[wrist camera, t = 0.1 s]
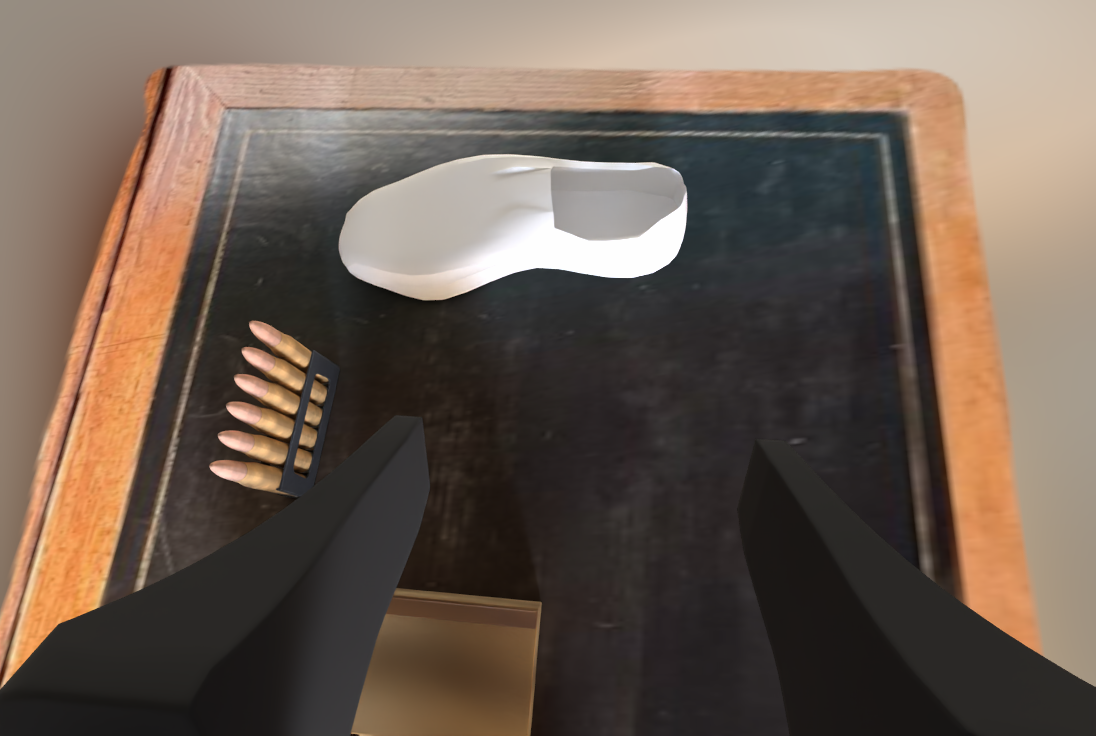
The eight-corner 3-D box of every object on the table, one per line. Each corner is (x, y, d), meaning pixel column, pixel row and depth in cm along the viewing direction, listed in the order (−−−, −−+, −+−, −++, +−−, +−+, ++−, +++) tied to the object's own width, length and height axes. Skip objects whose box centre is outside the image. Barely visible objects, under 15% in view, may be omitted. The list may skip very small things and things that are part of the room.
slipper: (671, 190, 51) (691, 123, 43) (681, 299, 48) (704, 249, 40) (356, 201, 52) (317, 137, 44) (346, 308, 49) (303, 261, 41)
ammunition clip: (318, 364, 48) (240, 306, 36) (340, 366, 48) (268, 309, 36) (287, 497, 45) (190, 480, 33) (310, 500, 45) (221, 483, 33)
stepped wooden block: (520, 851, 38) (511, 911, 31) (353, 831, 38) (312, 886, 32) (541, 601, 42) (537, 611, 36) (391, 587, 42) (361, 594, 36)
